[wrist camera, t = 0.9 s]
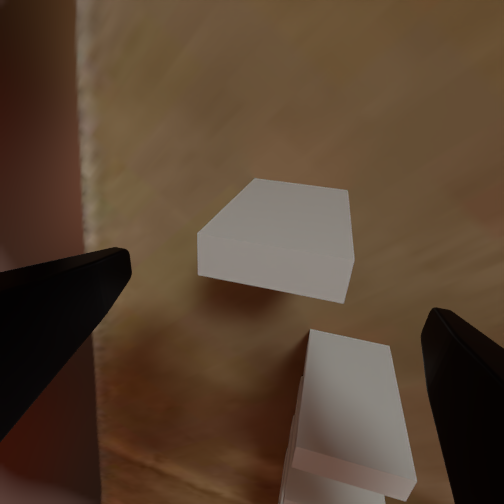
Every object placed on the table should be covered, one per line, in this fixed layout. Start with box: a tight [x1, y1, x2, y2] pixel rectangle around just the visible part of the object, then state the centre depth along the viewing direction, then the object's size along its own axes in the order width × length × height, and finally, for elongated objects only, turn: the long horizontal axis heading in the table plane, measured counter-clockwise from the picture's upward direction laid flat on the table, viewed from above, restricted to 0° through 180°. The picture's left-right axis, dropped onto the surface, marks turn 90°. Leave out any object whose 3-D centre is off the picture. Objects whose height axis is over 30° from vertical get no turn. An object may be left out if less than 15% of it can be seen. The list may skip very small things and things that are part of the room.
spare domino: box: [197, 178, 355, 304], centre depth 14 cm, size 2×5×8 cm, turn 85°
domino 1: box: [291, 329, 417, 502], centre depth 17 cm, size 2×5×8 cm, turn 85°
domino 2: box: [283, 376, 385, 504], centre depth 19 cm, size 2×5×8 cm, turn 85°
